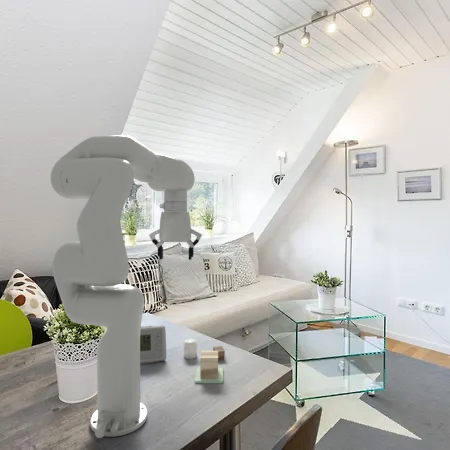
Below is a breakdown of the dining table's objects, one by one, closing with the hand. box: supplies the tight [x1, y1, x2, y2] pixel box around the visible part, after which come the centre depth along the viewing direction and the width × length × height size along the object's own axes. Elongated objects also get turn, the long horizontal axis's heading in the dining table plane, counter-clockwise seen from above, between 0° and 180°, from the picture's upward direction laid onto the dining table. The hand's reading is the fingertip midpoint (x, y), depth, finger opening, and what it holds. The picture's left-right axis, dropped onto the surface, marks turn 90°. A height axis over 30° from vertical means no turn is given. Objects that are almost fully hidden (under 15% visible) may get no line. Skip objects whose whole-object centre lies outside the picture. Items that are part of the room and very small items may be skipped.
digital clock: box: [140, 325, 167, 365], centre depth 111 cm, size 16×9×11 cm, turn 94°
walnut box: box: [212, 345, 226, 361], centre depth 114 cm, size 4×3×3 cm
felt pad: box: [194, 367, 224, 384], centre depth 101 cm, size 8×8×1 cm
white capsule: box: [183, 338, 198, 360], centre depth 115 cm, size 4×4×5 cm
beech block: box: [199, 350, 219, 379], centre depth 101 cm, size 5×5×6 cm
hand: (175, 259), depth 114 cm, fingers open, 9 cm apart
